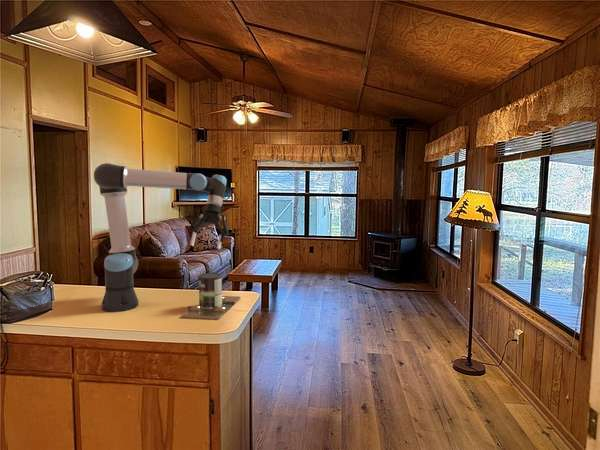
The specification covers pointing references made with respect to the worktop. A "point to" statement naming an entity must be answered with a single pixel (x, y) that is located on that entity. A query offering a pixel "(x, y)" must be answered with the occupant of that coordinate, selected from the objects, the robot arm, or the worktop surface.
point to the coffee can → (210, 290)
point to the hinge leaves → (211, 313)
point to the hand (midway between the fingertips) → (205, 247)
